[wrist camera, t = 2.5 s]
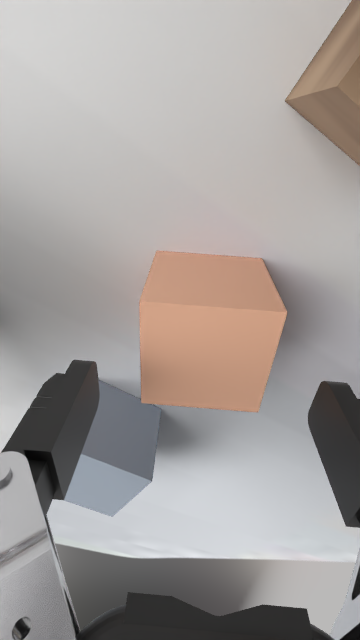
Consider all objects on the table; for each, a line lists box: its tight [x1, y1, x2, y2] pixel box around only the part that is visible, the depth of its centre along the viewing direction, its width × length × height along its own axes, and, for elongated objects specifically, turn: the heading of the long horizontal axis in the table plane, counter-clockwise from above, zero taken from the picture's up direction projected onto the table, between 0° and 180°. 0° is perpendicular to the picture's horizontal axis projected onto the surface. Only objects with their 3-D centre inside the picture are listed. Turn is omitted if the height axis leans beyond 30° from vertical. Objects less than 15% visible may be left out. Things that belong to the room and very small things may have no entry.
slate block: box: [64, 380, 161, 517], centre depth 19 cm, size 5×5×5 cm
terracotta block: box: [139, 251, 288, 412], centre depth 14 cm, size 5×5×5 cm
